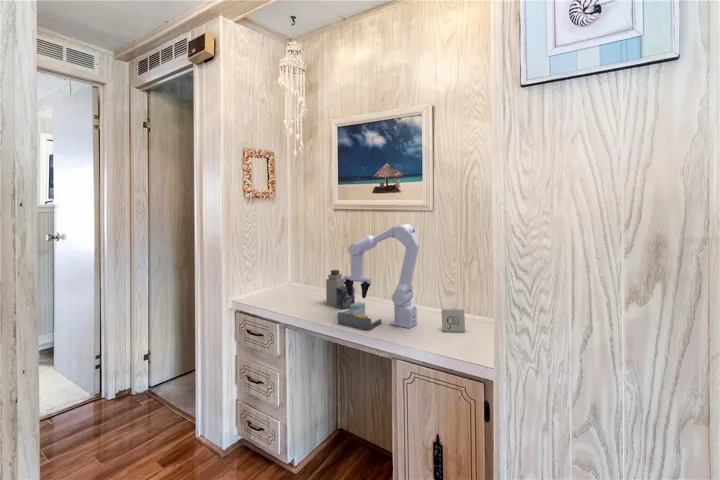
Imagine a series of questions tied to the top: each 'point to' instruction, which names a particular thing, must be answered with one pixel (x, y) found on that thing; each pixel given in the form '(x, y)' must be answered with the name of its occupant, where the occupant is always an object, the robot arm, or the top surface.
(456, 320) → the electrical switch
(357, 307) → the pale blue tall block
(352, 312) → the rack bay
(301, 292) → the top surface
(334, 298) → the perfume bottle
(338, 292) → the box
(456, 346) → the top surface
